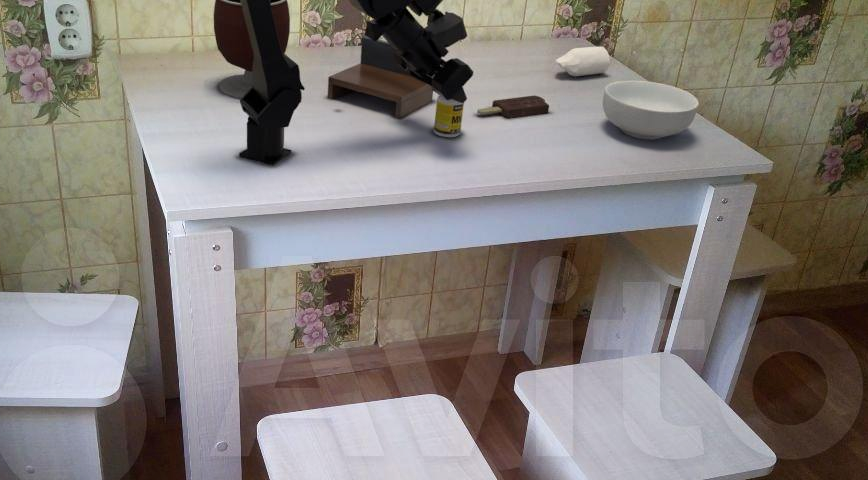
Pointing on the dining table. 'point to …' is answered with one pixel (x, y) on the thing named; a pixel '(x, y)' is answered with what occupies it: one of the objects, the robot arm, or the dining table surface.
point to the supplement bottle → (448, 117)
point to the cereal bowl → (648, 108)
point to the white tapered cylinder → (585, 61)
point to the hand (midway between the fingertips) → (457, 96)
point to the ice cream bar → (517, 107)
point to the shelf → (381, 79)
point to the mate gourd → (243, 40)
